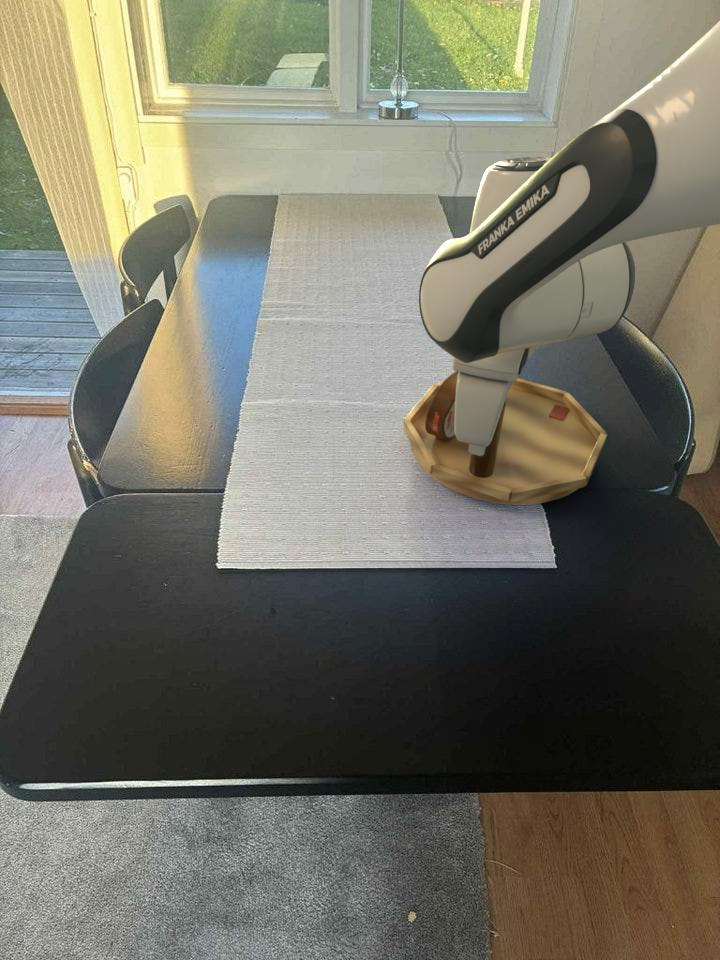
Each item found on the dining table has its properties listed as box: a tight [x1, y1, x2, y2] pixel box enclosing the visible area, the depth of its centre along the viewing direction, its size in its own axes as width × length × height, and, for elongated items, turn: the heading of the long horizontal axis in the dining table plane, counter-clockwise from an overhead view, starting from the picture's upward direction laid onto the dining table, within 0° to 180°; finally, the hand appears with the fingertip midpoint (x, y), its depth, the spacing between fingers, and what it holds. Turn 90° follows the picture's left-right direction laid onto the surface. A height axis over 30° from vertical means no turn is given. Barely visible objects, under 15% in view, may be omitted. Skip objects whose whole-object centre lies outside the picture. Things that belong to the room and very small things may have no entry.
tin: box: [425, 370, 458, 440], centre depth 90 cm, size 15×3×8 cm, turn 143°
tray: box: [403, 377, 608, 506], centre depth 88 cm, size 24×24×11 cm
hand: (484, 430), depth 81 cm, fingers open, 7 cm apart
